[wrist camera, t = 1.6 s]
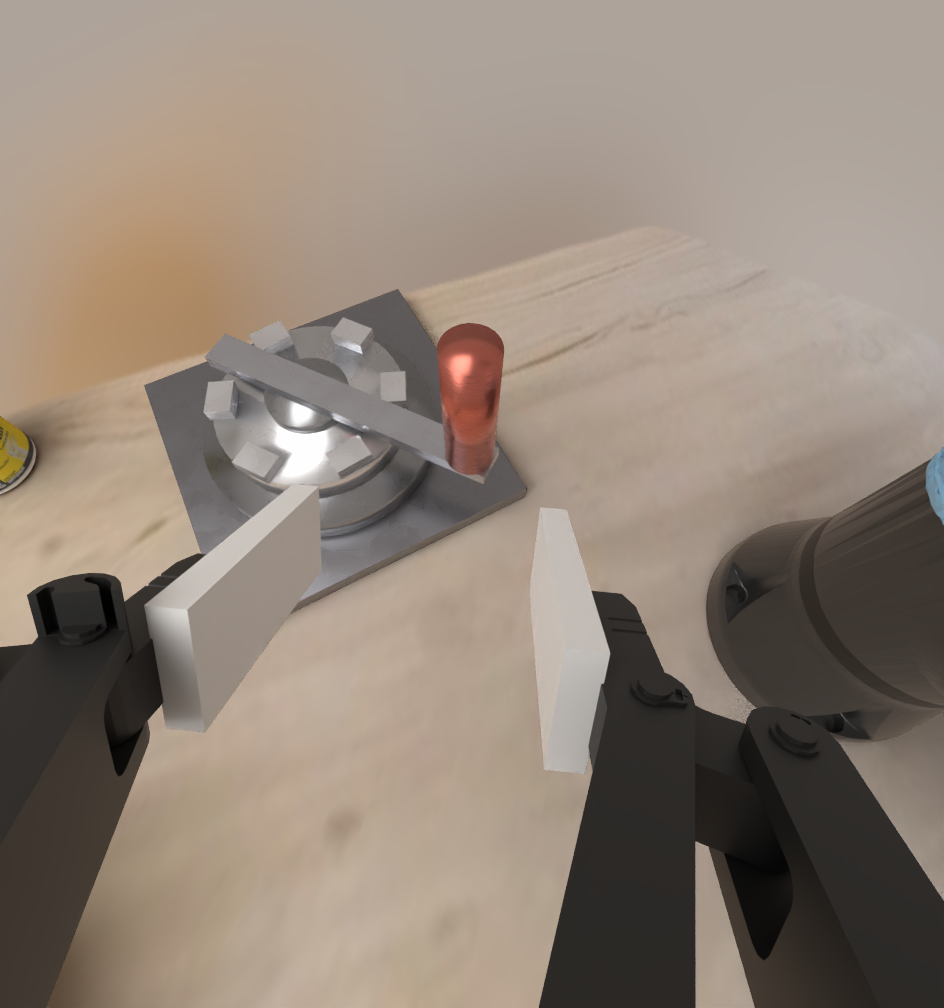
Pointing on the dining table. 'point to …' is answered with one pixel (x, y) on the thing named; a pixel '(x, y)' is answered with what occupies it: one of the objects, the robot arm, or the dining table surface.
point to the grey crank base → (352, 515)
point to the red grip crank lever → (349, 405)
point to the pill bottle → (14, 455)
